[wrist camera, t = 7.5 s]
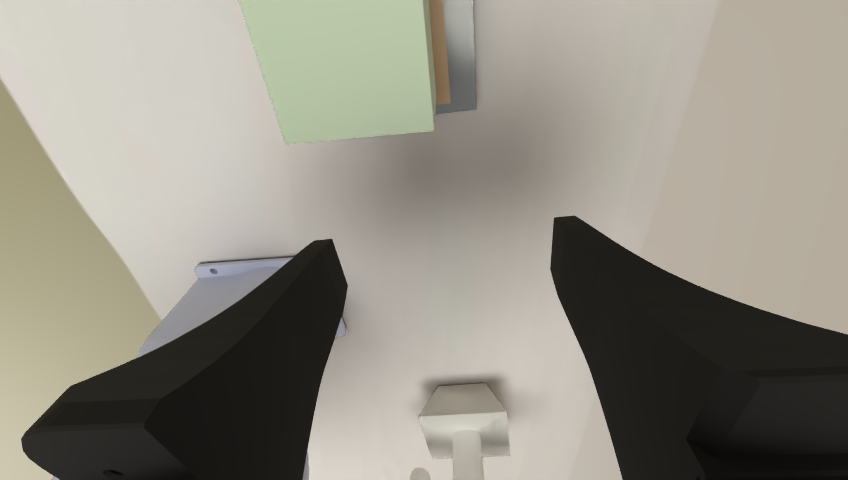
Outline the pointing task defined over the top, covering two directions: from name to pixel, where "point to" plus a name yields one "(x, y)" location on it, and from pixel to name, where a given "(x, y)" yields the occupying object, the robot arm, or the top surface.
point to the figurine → (464, 429)
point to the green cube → (345, 66)
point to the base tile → (459, 56)
